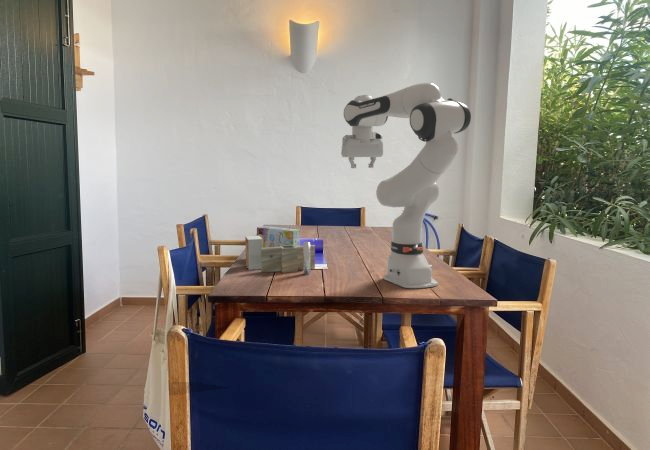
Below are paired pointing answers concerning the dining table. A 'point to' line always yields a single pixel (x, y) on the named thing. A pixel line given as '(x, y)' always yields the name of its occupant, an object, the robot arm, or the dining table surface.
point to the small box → (253, 252)
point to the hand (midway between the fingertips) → (362, 168)
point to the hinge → (285, 258)
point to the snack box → (278, 236)
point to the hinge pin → (306, 258)
